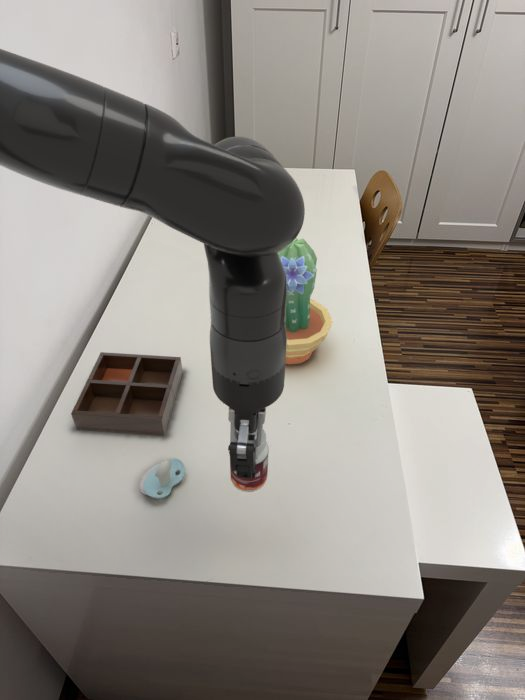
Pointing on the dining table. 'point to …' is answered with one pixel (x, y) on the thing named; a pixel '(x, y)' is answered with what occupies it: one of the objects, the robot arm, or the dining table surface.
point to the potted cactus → (302, 303)
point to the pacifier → (162, 478)
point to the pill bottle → (261, 469)
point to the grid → (129, 394)
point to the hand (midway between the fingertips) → (248, 456)
